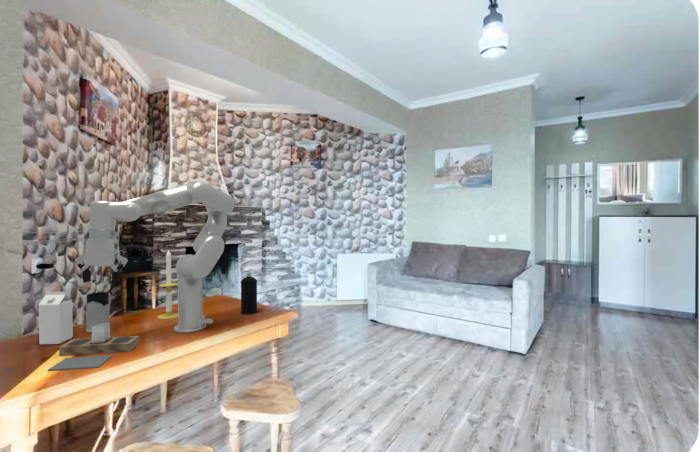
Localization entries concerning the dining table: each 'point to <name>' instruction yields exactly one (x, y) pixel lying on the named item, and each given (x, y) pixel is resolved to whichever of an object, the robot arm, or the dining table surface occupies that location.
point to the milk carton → (55, 318)
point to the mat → (80, 363)
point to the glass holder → (97, 309)
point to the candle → (168, 290)
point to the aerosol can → (248, 295)
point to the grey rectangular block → (100, 333)
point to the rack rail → (99, 346)
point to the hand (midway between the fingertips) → (101, 282)
